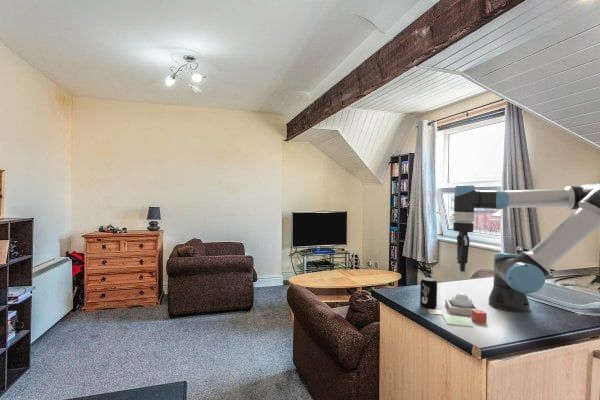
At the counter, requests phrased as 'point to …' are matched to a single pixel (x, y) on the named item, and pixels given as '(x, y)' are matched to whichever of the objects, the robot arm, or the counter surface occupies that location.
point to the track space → (435, 312)
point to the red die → (479, 316)
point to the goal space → (457, 321)
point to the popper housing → (459, 308)
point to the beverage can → (428, 293)
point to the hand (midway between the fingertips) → (461, 278)
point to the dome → (462, 300)
